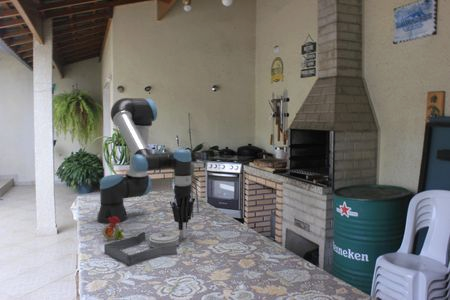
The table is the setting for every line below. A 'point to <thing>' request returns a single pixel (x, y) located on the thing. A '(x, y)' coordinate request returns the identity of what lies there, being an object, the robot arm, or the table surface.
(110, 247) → the steel bracket
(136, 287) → the table surface
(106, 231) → the bird rattle
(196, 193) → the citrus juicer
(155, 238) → the grey pulley wheel
